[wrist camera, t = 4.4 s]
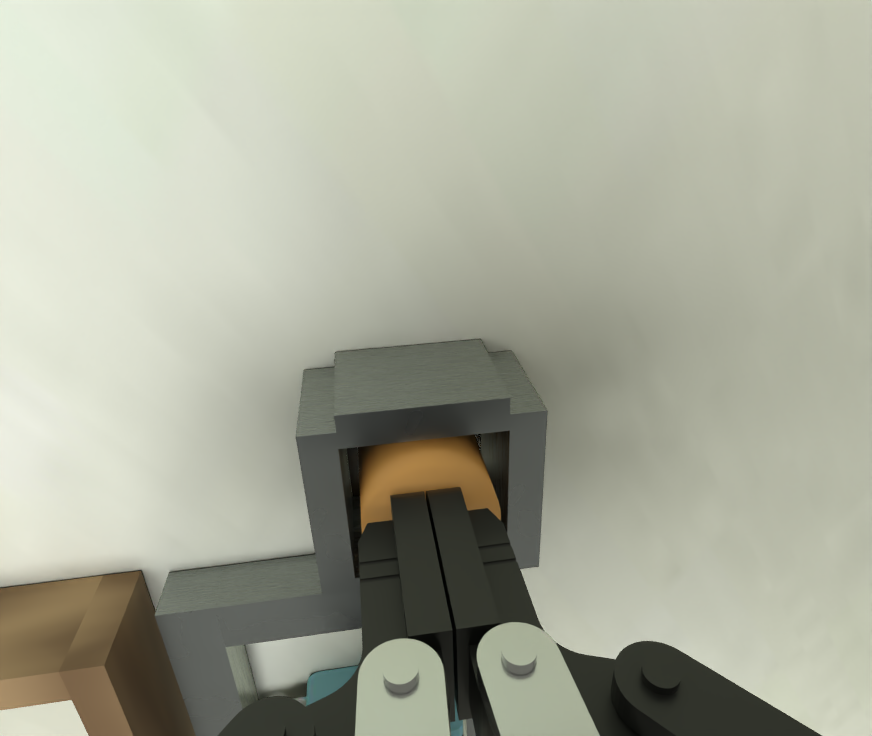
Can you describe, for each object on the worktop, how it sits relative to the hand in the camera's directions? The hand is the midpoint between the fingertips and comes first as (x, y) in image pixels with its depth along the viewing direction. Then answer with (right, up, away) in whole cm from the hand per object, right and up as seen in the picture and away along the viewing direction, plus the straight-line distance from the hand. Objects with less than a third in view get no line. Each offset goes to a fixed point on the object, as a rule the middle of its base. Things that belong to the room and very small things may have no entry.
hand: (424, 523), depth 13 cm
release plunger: (0, +1, +3) cm, 3 cm away
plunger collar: (0, +2, +3) cm, 4 cm away
